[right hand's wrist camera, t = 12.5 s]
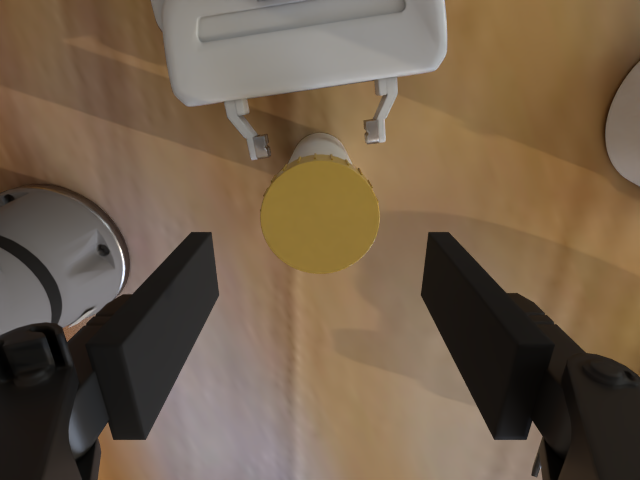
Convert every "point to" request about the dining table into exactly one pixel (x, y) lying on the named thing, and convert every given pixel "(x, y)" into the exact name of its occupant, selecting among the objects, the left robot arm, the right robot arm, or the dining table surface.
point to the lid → (319, 214)
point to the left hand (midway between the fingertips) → (317, 150)
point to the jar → (319, 147)
